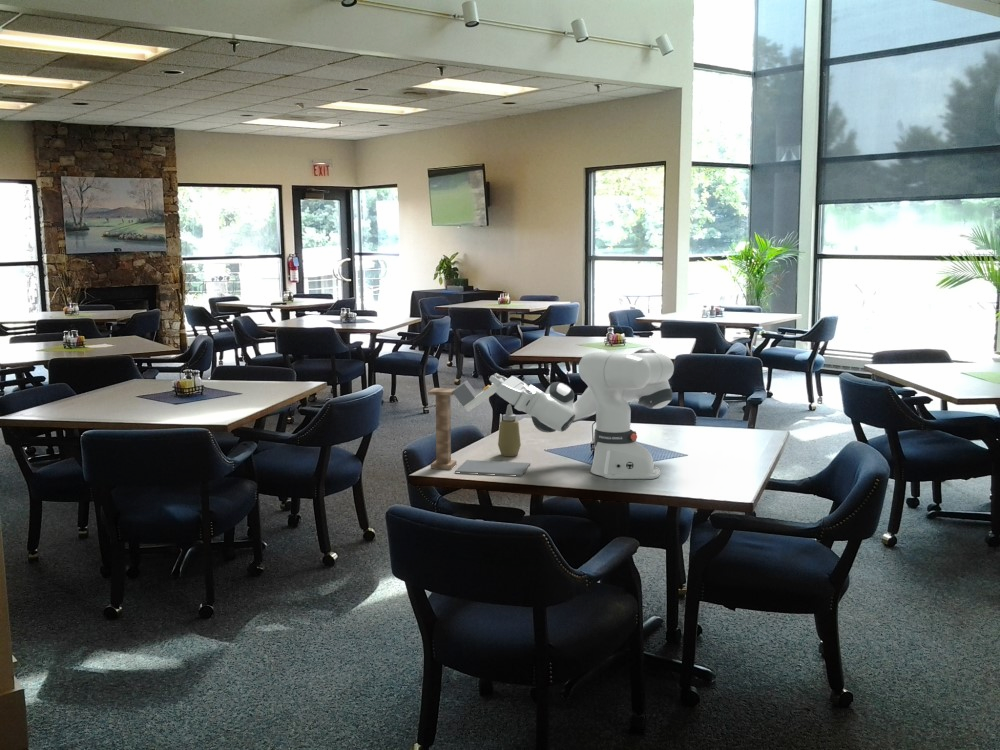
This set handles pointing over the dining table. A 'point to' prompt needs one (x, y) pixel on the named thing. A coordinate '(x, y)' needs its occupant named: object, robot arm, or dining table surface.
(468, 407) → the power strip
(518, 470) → the grey flat rectangular slab
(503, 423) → the squeeze bottle
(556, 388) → the robot arm
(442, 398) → the walnut stand
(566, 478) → the dining table surface
